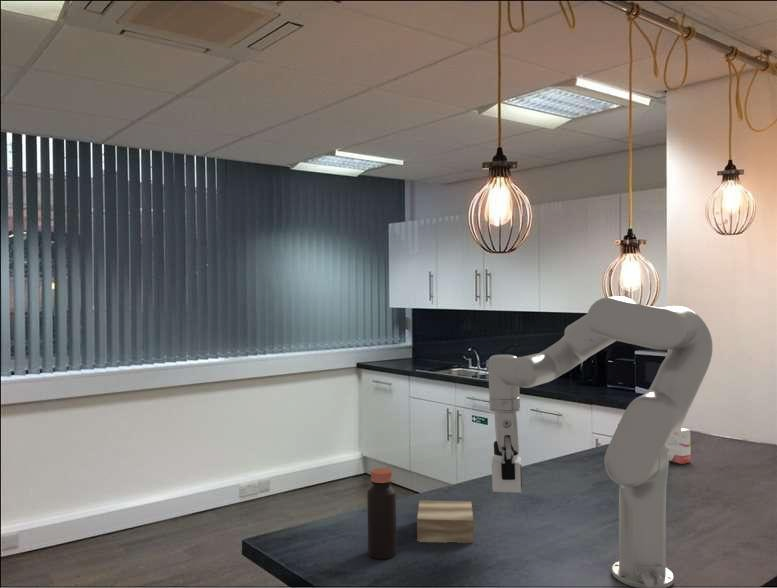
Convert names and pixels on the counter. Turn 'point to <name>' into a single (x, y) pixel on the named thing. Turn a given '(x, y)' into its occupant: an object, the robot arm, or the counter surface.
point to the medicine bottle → (497, 480)
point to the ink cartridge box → (679, 446)
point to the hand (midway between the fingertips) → (506, 474)
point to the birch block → (445, 521)
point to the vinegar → (381, 515)
